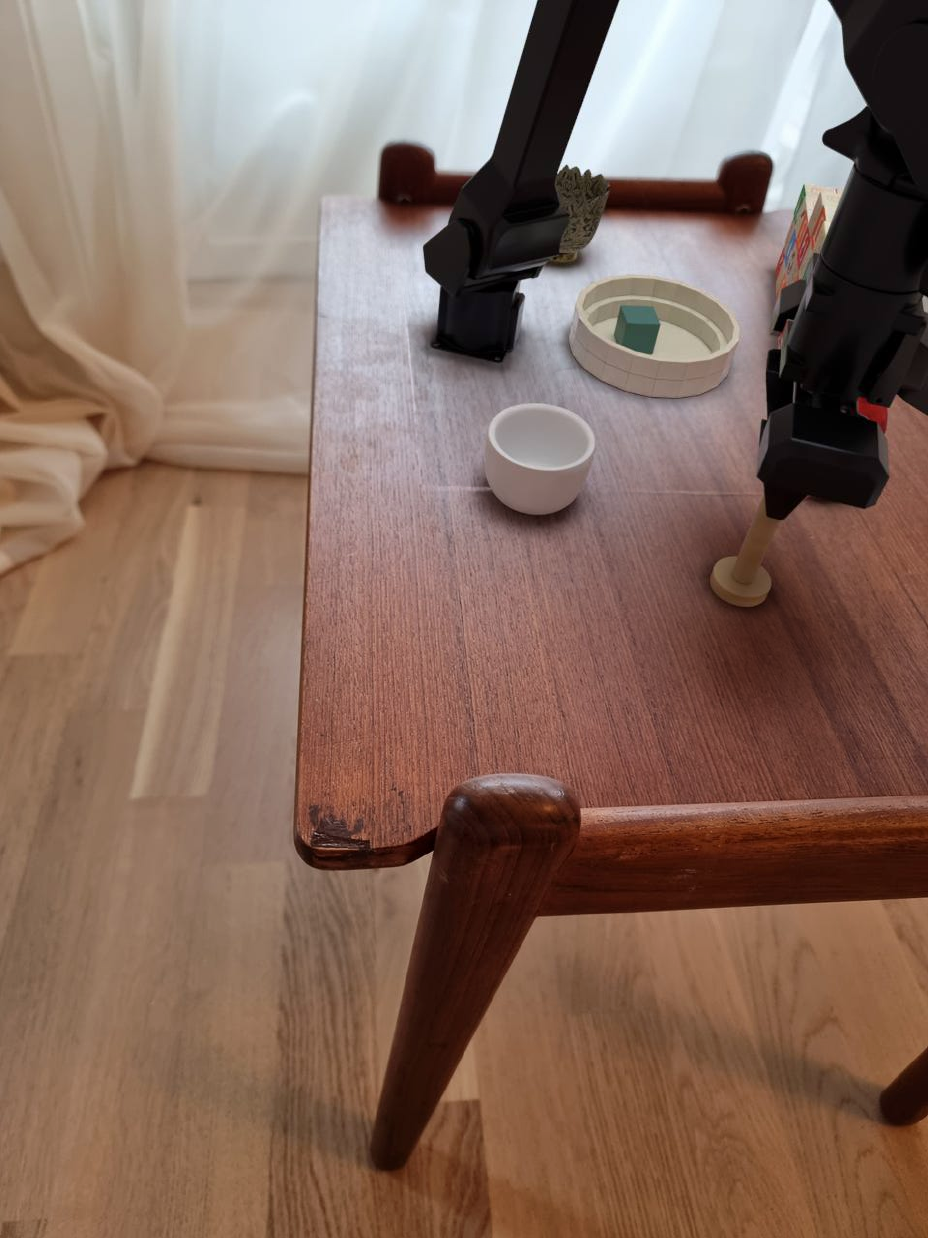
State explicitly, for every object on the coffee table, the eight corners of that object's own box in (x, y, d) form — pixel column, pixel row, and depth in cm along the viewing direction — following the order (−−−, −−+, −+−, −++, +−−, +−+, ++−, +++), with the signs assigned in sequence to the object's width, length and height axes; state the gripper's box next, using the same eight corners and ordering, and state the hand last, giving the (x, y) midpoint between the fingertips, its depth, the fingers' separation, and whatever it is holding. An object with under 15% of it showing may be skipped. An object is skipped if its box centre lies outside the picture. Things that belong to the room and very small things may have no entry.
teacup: (562, 543, 69) (575, 483, 65) (462, 508, 71) (470, 448, 67) (604, 466, 76) (618, 407, 72) (512, 435, 77) (521, 376, 74)
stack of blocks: (772, 271, 101) (815, 148, 92) (833, 283, 100) (882, 160, 91) (775, 384, 86) (827, 251, 77) (847, 398, 86) (907, 266, 77)
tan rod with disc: (707, 598, 67) (763, 458, 58) (712, 560, 70) (766, 420, 61) (765, 613, 67) (830, 474, 58) (768, 574, 69) (830, 435, 60)
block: (619, 353, 86) (627, 322, 84) (613, 334, 88) (620, 304, 86) (652, 354, 87) (660, 324, 85) (645, 336, 89) (653, 306, 87)
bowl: (554, 380, 83) (562, 338, 81) (583, 301, 93) (591, 261, 90) (719, 418, 82) (734, 377, 79) (732, 334, 92) (745, 294, 89)
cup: (524, 237, 101) (536, 158, 95) (595, 248, 101) (611, 169, 95) (517, 272, 96) (529, 190, 90) (592, 284, 95) (608, 202, 90)
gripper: (1062, 398, 44) (911, 632, 55) (1011, 223, 56) (898, 443, 68) (812, 342, 45) (715, 583, 56) (817, 183, 58) (737, 406, 69)
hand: (776, 497), depth 62 cm, fingers open, 4 cm apart
